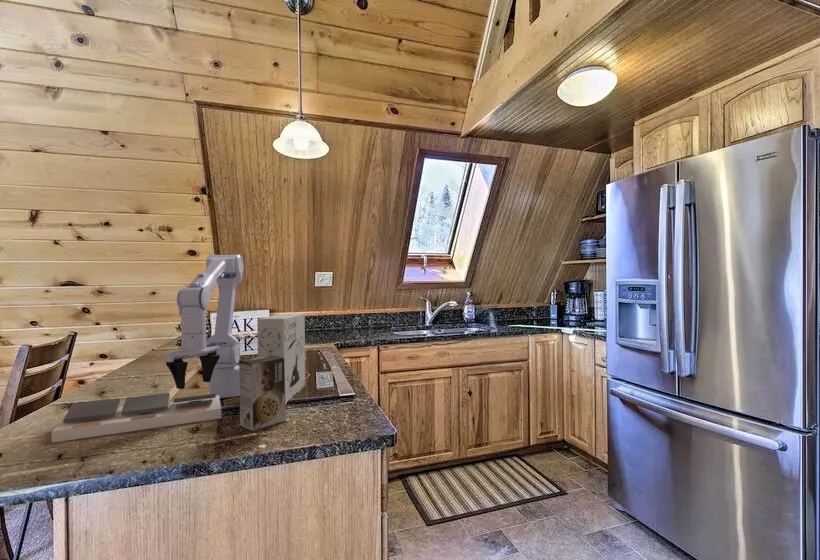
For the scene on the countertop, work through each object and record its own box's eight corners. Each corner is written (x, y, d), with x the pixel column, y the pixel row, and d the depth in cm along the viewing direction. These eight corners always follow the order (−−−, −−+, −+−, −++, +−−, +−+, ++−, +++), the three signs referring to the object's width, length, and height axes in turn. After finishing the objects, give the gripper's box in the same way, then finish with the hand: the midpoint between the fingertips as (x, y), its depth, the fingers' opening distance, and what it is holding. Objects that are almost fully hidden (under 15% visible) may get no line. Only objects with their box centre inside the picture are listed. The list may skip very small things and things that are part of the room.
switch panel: (219, 403, 119) (218, 392, 119) (221, 418, 105) (221, 405, 105) (70, 422, 103) (70, 409, 103) (51, 442, 90) (51, 427, 90)
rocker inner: (214, 397, 115) (214, 393, 115) (215, 397, 108) (215, 393, 108) (175, 401, 110) (175, 397, 111) (173, 402, 104) (173, 398, 104)
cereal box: (284, 407, 115) (283, 318, 115) (257, 407, 115) (257, 318, 115) (305, 387, 136) (304, 313, 137) (283, 388, 136) (282, 313, 137)
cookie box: (272, 416, 106) (271, 354, 107) (286, 421, 102) (285, 357, 103) (238, 425, 99) (238, 359, 100) (252, 431, 95) (252, 362, 96)
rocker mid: (169, 396, 110) (169, 392, 110) (167, 409, 103) (167, 406, 103) (126, 401, 106) (126, 397, 105) (121, 415, 99) (121, 411, 98)
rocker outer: (120, 401, 105) (120, 398, 105) (114, 416, 98) (114, 412, 98) (73, 407, 101) (72, 403, 100) (63, 423, 94) (63, 419, 93)
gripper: (207, 329, 115) (207, 377, 115) (156, 335, 102) (156, 390, 101) (225, 330, 112) (225, 380, 112) (175, 336, 99) (175, 392, 99)
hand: (194, 385), depth 106 cm, fingers open, 7 cm apart
